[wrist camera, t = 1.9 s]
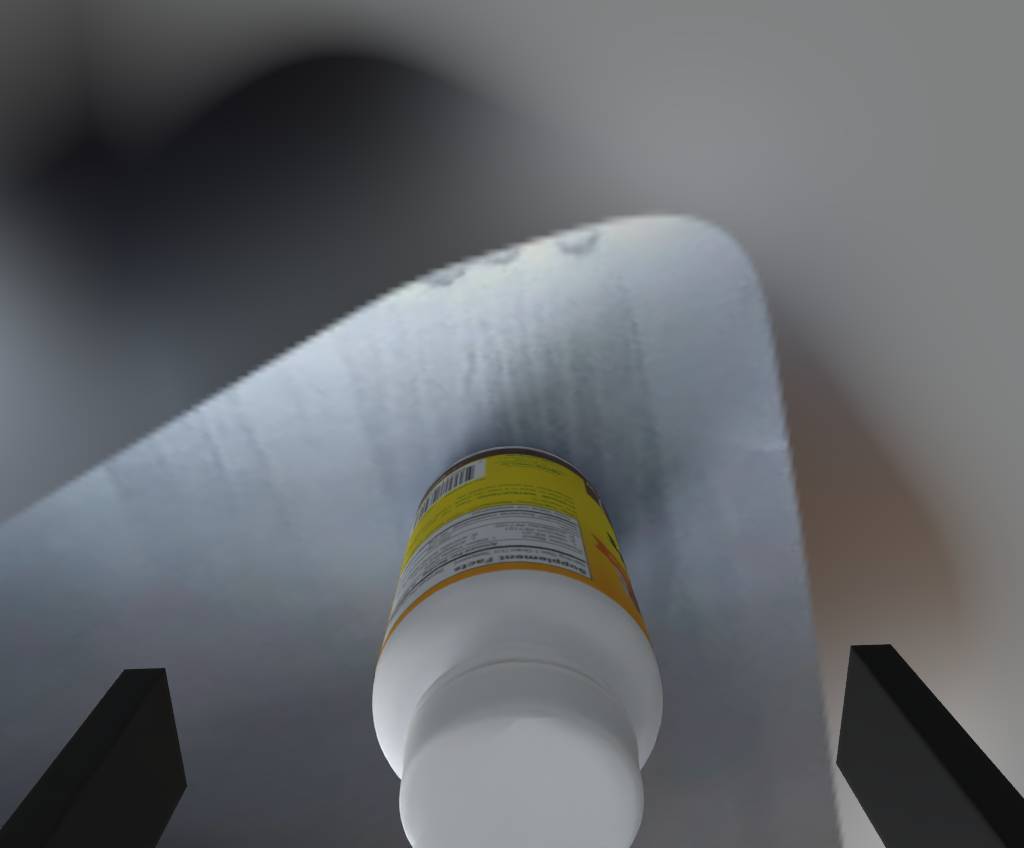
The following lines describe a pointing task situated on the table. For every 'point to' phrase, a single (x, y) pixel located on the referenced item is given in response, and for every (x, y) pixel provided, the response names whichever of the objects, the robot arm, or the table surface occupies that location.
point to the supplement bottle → (516, 664)
